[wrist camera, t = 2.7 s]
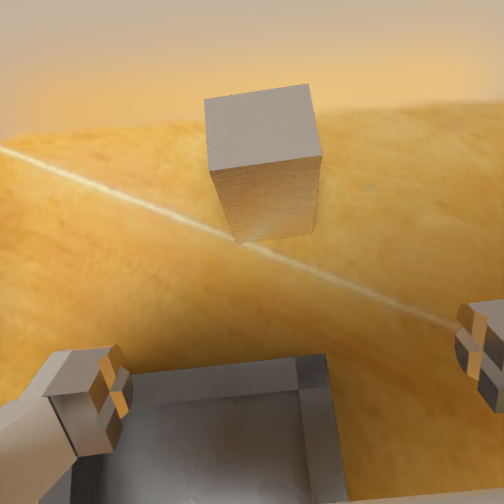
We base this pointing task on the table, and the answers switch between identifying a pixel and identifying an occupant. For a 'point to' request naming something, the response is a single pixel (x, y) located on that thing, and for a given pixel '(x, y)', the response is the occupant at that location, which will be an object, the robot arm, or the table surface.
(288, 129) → the block
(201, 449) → the bracket
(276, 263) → the table surface
